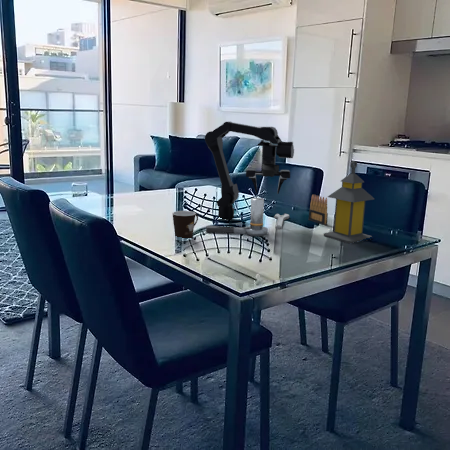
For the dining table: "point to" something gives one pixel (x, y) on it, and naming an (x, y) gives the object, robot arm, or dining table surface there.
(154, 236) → the dining table surface
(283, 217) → the adjustable wrench
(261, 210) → the socket
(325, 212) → the ammunition clip
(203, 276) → the dining table surface
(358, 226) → the lantern
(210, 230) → the ratchet
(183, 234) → the coffee mug
